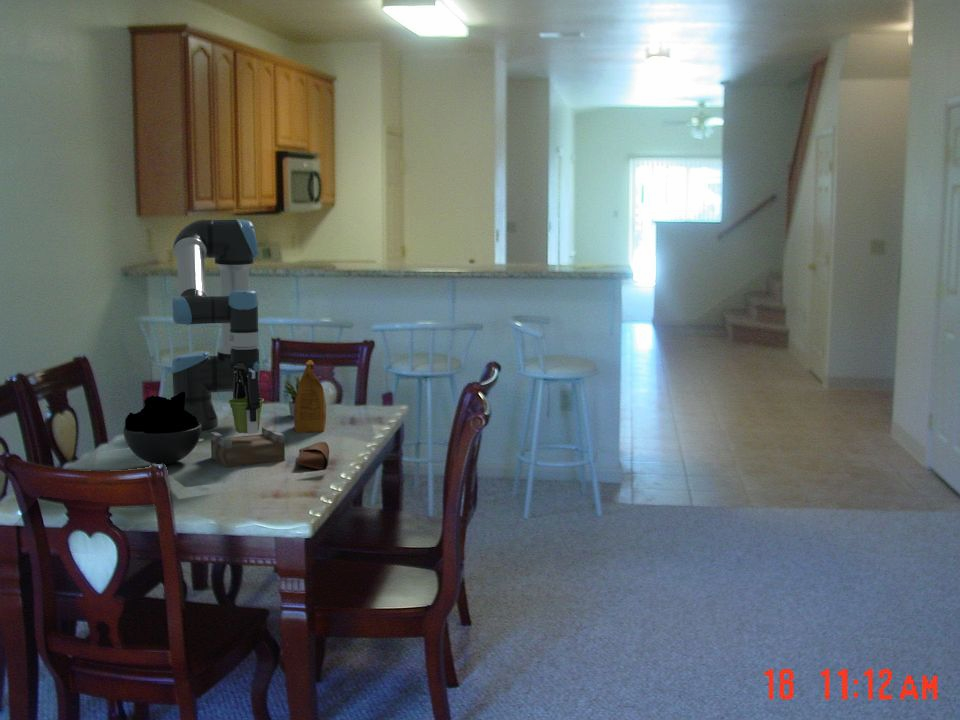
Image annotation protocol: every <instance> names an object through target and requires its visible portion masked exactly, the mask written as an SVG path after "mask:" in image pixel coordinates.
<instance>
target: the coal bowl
mask: <svg viewBox="0 0 960 720" xmlns="http://www.w3.org/2000/svg"><path fill="white" fill-rule="evenodd" d="M185 397H186V396H185V392H181V393H179V394H178V395H176V396H174V397H173V396H172V397H170V399H169V398H166V397H163V396H159V395H156V396H155V395H150V396H146V398H145V400H144V406H143V408H141V409H140V411H138V412H136V413H134V412H129V413H128V414H127V416H126V417H125V419H124V428H122V431H123V438H124V440H125V442H126V444H127V446H128V448H129V449H130V450H131V452H132V453H133V454H135V455H136V457H138V458H140V459H141V460H142V461H146V462H147V463H150V464H154V463H156V464H155V465H162V464H161V463H165V464H164V465H169V464H174V463H176V462H179V461H180V460H182V459H185V458H186V457H187V456H189V454H190V453H192V451H193V450H194V449H195V447H196V446H197V444H198V442H199V441H200V437H201V434H202V430H201V429H202V425H201V424H200V423H198V422H197V419H196V417H195V416H193V415H192V414H190V413H189V412H187V411H185V409H184V408H185V407H184V406H185Z"/></svg>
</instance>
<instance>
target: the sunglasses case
mask: <svg viewBox="0 0 960 720" xmlns="http://www.w3.org/2000/svg"><path fill="white" fill-rule="evenodd" d="M298 450H299V451H298V452H299V454H298V457H297V459H296V461H295V464H298V465H300V466H303V467H307V468H312V469H316V470H324V469H326V468H327V467H328V465H329V459H330V457H329V456H330V448H329V445H328V443H327V442H326V441H320V442H316V443H313V444H310V445H308V446H306V447H302V448H300V449H298Z"/></svg>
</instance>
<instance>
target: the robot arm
mask: <svg viewBox="0 0 960 720" xmlns="http://www.w3.org/2000/svg"><path fill="white" fill-rule="evenodd" d="M172 247H173V248H172V250H173V257H174V258H175V260H176V261H177V278H178V279H177V280H178V281H177V282H178V296H175V297H173V298H172V301H171V302H172V304H171V305H172V321H173V323H174V324H176V325H187V326H189V325H202V324H203V325H205V324H208V325H209V324H221V345H220V346H219V347H218V348H217V355H212V354H211V353H210V351H208V350H201V351H193V352H187V353H183V354H179V355H177V356H175V357H174V358H173V359H172V360H171V361H172V362H171V371H170V372H171V374H172V397H174V396H176V395H178V394H179V393H181V392H185V396H186V397H185V406H184V407H185V408H184V409H185V411H187V412H189V413H190V414H192V415H193V416H195V417H196V419H197V422H198V423H200V424H201V425H202V429H201V431H202V430H208V429H214V428H216V427H218V426H219V419H218V418H219V417H218V415H217V412H216V409H215V407H214V404H213V401H212V399H213V398H212V394H214V393H233V394H232V399H243V398H246V400H247V407H246V408H245V410H246V414H247V433H246V434H248V435H253V434H258V433H259V431H258V425H257V409H258V408H260V399H259V398H260V389H259V378H260V371H261V370H260V369H261V355H260V349H259V348H258V347H259V346H260V333H259V332H260V331H259V309H258V308H259V301H258V300H259V299H258V292H256V291H255V290H252V289H250V285H249V284H250V282H249V281H250V280H249V279H250V278H249V275H250V274H249V272H250V271H249V269H250V268H251V267H252V266H253V265H254V259H257V258H258V257H259V249H258V242H257V236H256V231H255V226H254V224H253V222H252V221H250V220H248V219H238V218H237V219H231V218H230V219H199V220H195V221H193V222H190V223H189V224H186V226H184V227H183V228H182V229H181V230H180V231H179V233H178V234H177V235H176V237H175V239H174V242H173V246H172ZM207 258H208V259H211V258H212V259H214V264H215V265H216V266H217V267H218V269H219V275H220V279H219V280H220V295H218V296H215V295H214V296H213V295H211V296H208V295H207V280H206V270H205V269H206V268H205V267H206V266H205V259H207ZM253 403H255V404H253Z"/></svg>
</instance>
